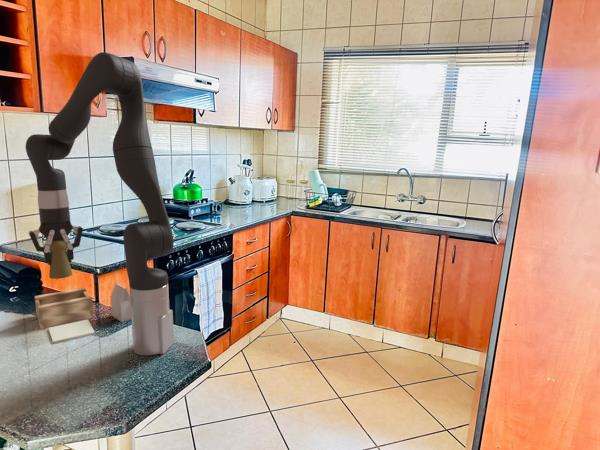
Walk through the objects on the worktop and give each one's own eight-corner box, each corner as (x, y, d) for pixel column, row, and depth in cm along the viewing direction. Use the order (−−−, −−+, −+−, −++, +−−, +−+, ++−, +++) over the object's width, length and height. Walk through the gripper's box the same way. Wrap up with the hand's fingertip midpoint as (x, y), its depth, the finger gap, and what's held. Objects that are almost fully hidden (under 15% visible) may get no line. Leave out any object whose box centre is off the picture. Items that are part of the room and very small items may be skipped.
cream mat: (87, 321, 121) (87, 319, 121) (95, 333, 113) (94, 331, 113) (48, 329, 115) (48, 327, 115) (53, 343, 107) (53, 341, 107)
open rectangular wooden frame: (86, 305, 132) (84, 287, 131) (93, 317, 124) (91, 297, 122) (36, 315, 124) (34, 296, 123) (40, 328, 116) (38, 308, 114)
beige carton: (121, 322, 121) (119, 290, 119) (111, 315, 125) (109, 284, 123) (133, 318, 124) (131, 287, 122) (123, 312, 128) (121, 281, 126)
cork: (62, 279, 118) (58, 242, 116) (44, 277, 119) (40, 241, 117) (77, 273, 124) (74, 237, 121) (60, 271, 125) (56, 236, 123)
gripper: (79, 202, 124) (84, 256, 128) (23, 206, 116) (29, 263, 119) (84, 205, 119) (88, 262, 122) (25, 209, 110) (32, 270, 113)
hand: (59, 262), depth 120 cm, fingers closed on cork, 4 cm apart
